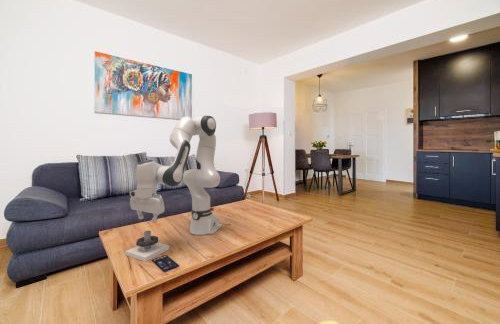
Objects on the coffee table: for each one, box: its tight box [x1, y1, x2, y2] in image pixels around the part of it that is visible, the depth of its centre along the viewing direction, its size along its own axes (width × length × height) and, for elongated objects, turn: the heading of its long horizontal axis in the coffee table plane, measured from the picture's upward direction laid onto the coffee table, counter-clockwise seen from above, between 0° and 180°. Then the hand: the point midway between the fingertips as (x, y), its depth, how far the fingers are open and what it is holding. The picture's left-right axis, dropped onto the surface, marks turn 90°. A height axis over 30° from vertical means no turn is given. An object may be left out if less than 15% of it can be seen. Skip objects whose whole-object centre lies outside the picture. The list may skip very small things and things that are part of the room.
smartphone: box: [150, 254, 181, 274], centre depth 100 cm, size 8×1×15 cm
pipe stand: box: [124, 230, 170, 263], centre depth 110 cm, size 14×14×10 cm
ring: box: [135, 235, 159, 247], centre depth 110 cm, size 10×10×1 cm
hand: (147, 220), depth 110 cm, fingers open, 8 cm apart
